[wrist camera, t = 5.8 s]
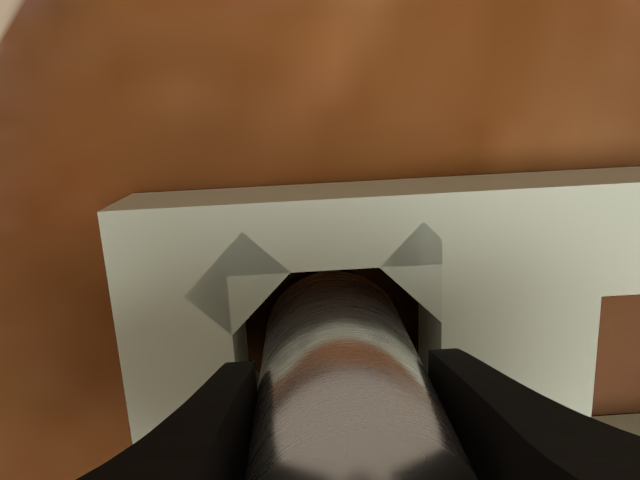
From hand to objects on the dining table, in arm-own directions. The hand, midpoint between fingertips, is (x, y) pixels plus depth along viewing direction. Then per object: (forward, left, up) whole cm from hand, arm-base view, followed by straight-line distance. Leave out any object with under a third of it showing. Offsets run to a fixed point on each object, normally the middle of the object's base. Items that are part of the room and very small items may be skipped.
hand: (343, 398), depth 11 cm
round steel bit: (0, 0, -3) cm, 3 cm away
